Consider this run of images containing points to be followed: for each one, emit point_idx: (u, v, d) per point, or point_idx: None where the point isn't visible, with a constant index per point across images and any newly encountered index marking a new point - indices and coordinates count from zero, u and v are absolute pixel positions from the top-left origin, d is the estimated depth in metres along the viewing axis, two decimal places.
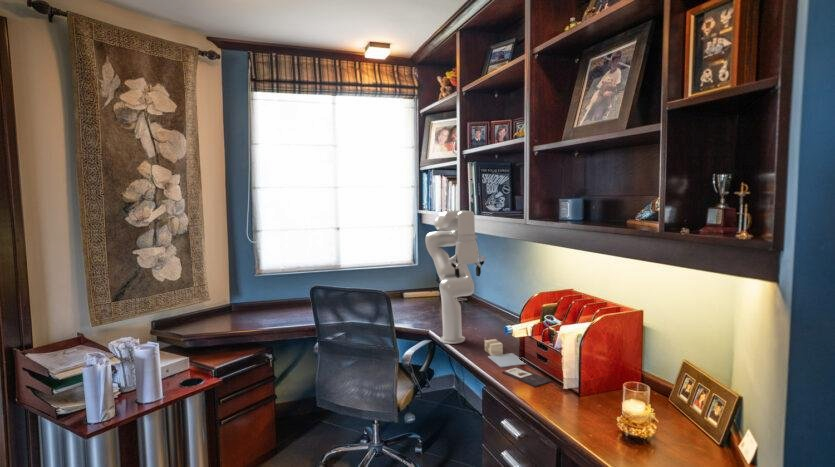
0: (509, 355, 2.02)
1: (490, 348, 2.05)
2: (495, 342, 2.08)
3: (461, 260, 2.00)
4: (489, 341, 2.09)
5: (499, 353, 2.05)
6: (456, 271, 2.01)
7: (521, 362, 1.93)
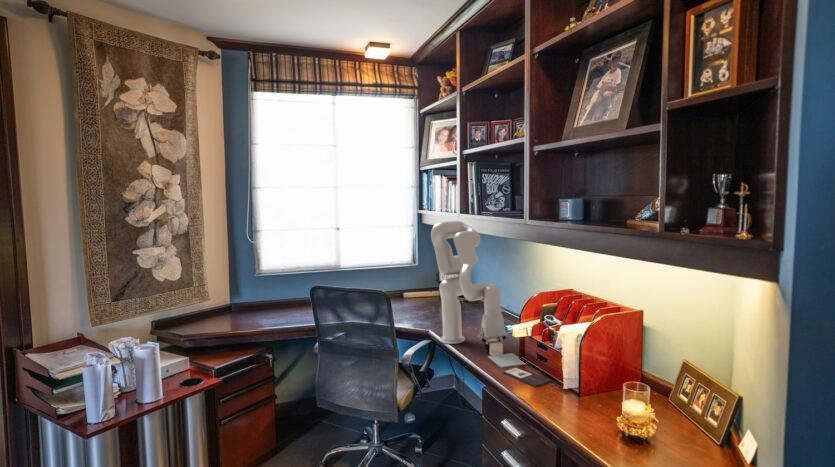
0: (509, 355, 2.02)
1: (490, 348, 2.05)
2: (495, 341, 2.08)
3: (488, 334, 2.05)
4: (490, 341, 2.09)
5: (499, 353, 2.05)
6: (486, 346, 2.07)
7: (521, 362, 1.93)
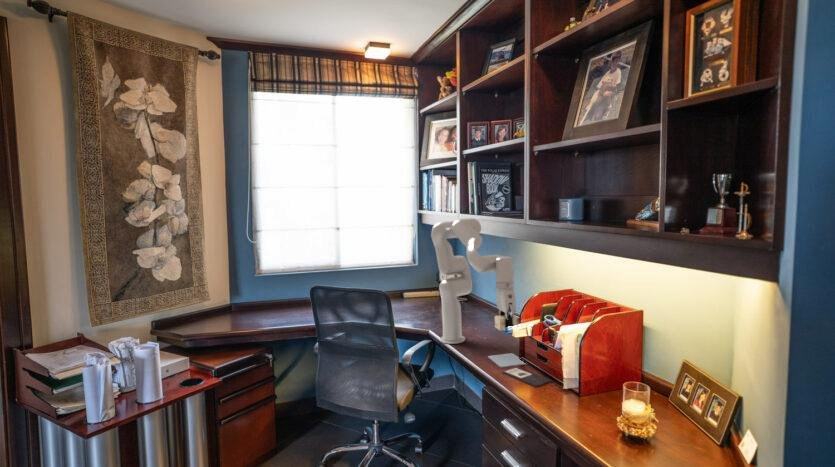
0: (509, 355, 2.02)
1: None
2: (505, 317, 1.95)
3: (497, 305, 1.98)
4: None
5: (498, 327, 1.94)
6: None
7: (521, 362, 1.93)
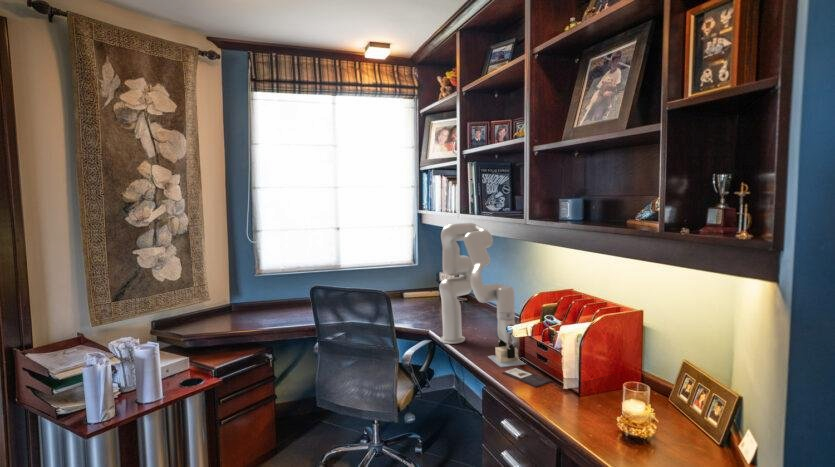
0: None
1: None
2: (506, 349, 1.96)
3: (498, 334, 1.99)
4: (507, 347, 1.98)
5: (499, 359, 1.95)
6: None
7: (521, 362, 1.93)
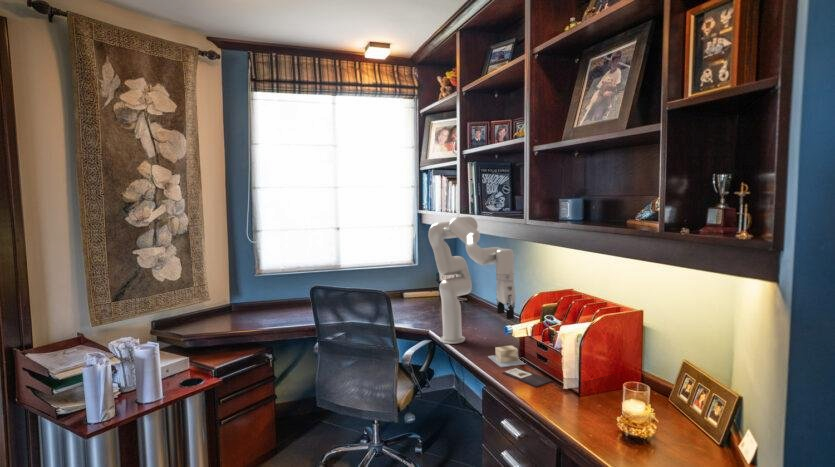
0: None
1: None
2: (506, 349, 1.96)
3: (497, 297, 2.00)
4: (507, 347, 1.98)
5: (499, 359, 1.95)
6: None
7: (521, 362, 1.93)
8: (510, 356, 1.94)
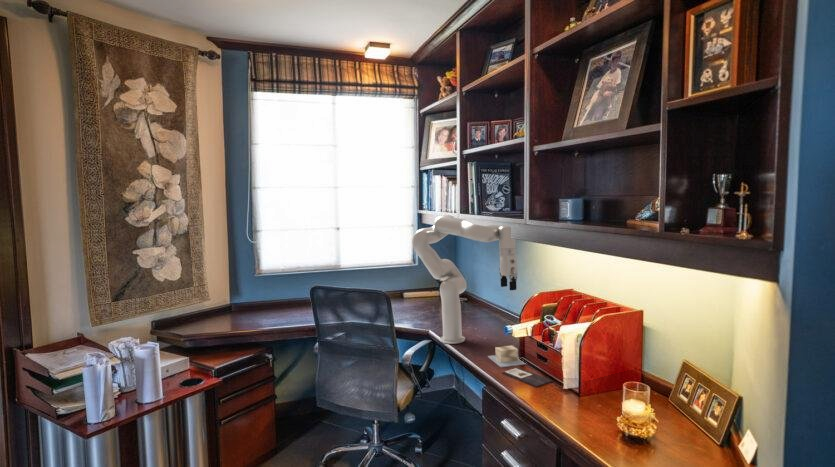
0: None
1: None
2: (506, 349, 1.96)
3: (500, 271, 2.15)
4: (507, 347, 1.98)
5: (499, 359, 1.95)
6: None
7: (521, 362, 1.93)
8: (510, 356, 1.94)
